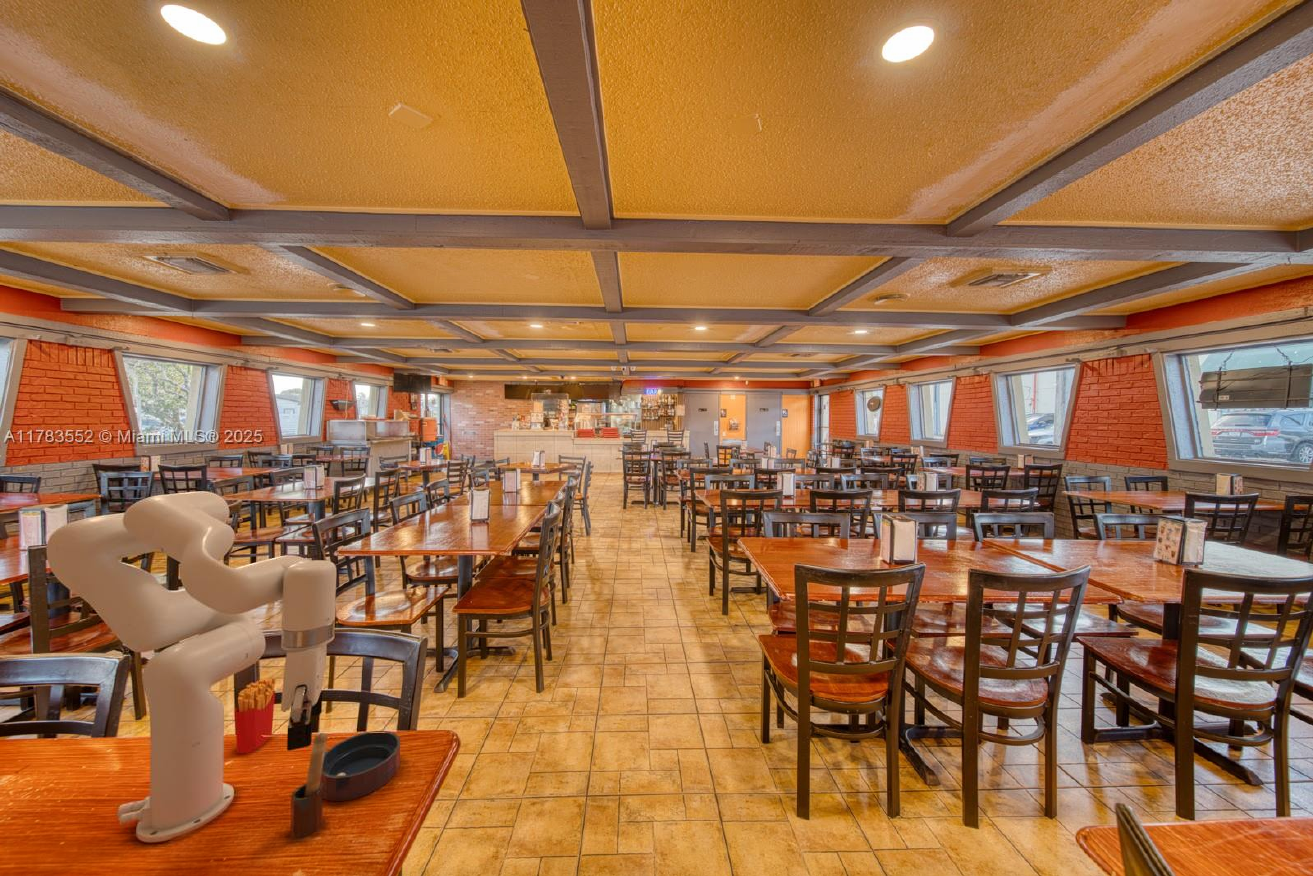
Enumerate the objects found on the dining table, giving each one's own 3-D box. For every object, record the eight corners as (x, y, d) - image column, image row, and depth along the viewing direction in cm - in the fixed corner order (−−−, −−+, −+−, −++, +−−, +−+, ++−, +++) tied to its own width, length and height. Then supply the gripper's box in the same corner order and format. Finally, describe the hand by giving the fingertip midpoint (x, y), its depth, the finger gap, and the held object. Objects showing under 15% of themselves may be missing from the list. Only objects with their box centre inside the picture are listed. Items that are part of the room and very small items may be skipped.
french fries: (248, 756, 101) (249, 696, 101) (228, 756, 101) (229, 696, 101) (280, 730, 110) (281, 674, 110) (262, 730, 110) (262, 674, 110)
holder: (288, 845, 79) (288, 803, 79) (294, 826, 83) (294, 786, 83) (319, 835, 81) (320, 794, 81) (324, 817, 85) (324, 778, 85)
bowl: (310, 814, 85) (310, 787, 86) (323, 766, 98) (324, 742, 98) (399, 788, 92) (399, 763, 92) (401, 746, 105) (401, 724, 105)
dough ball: (346, 770, 94) (338, 778, 93) (338, 770, 92) (330, 779, 92) (350, 778, 93) (342, 787, 92) (341, 779, 91) (333, 788, 91)
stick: (298, 833, 81) (313, 738, 82) (299, 825, 82) (314, 732, 83) (312, 830, 82) (327, 736, 83) (313, 822, 83) (328, 729, 84)
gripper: (293, 619, 88) (290, 709, 88) (267, 659, 73) (264, 768, 73) (341, 613, 92) (338, 700, 92) (326, 650, 76) (322, 755, 76)
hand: (305, 730), depth 82 cm, fingers open, 9 cm apart
